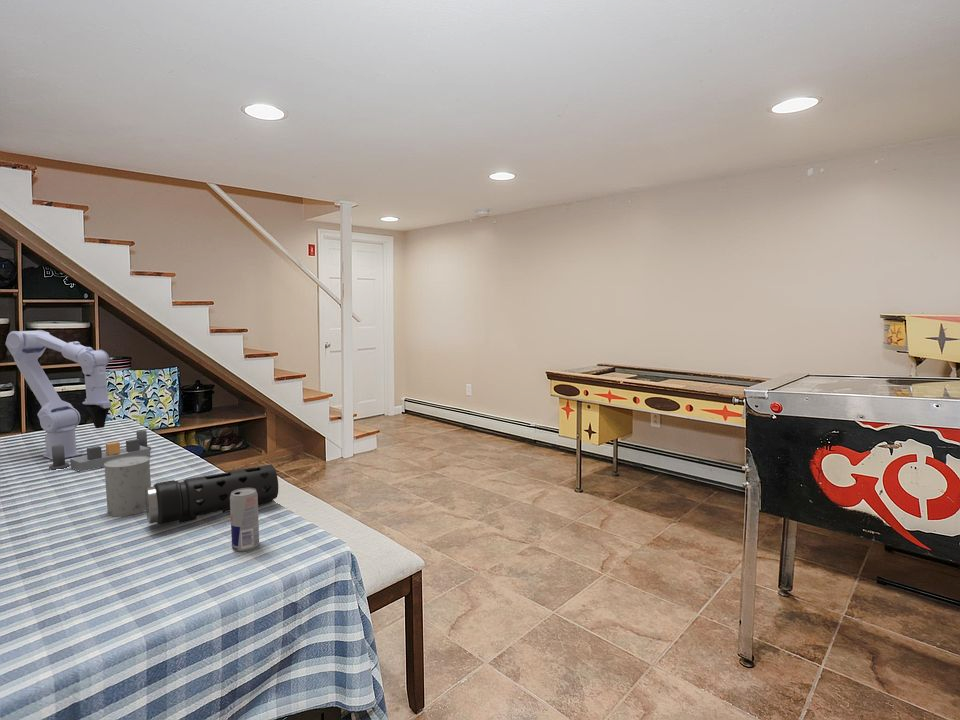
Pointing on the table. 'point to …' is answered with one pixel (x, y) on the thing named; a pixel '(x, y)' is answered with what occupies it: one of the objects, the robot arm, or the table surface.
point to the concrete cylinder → (127, 485)
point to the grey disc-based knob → (58, 458)
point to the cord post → (142, 438)
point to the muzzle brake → (206, 494)
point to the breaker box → (98, 458)
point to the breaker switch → (113, 448)
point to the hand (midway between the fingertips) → (99, 427)
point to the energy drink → (244, 519)
